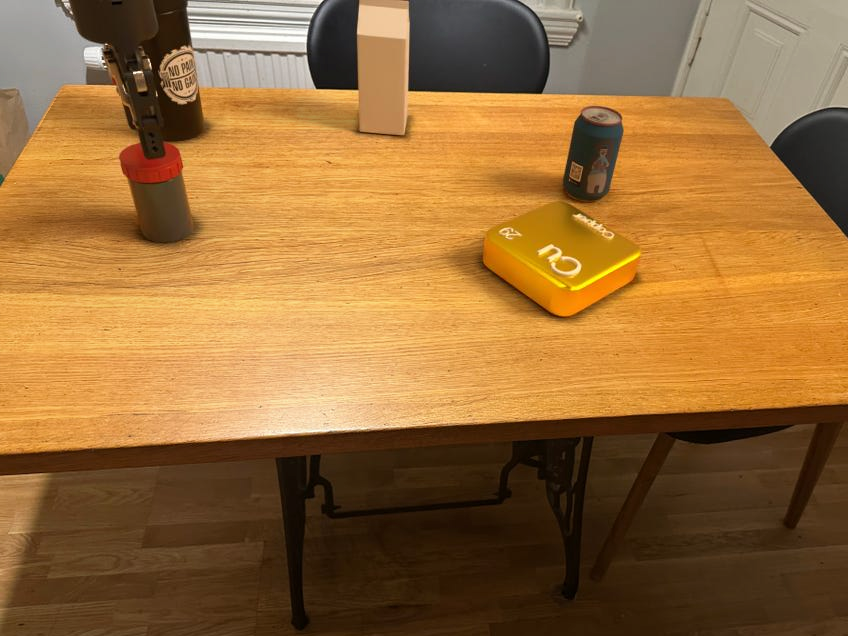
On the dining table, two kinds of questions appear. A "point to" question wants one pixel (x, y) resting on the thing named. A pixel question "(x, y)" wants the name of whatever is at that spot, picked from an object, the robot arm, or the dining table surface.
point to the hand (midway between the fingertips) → (147, 142)
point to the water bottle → (175, 72)
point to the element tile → (561, 257)
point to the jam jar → (162, 209)
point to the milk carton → (383, 65)
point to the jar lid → (150, 164)
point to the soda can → (593, 153)
